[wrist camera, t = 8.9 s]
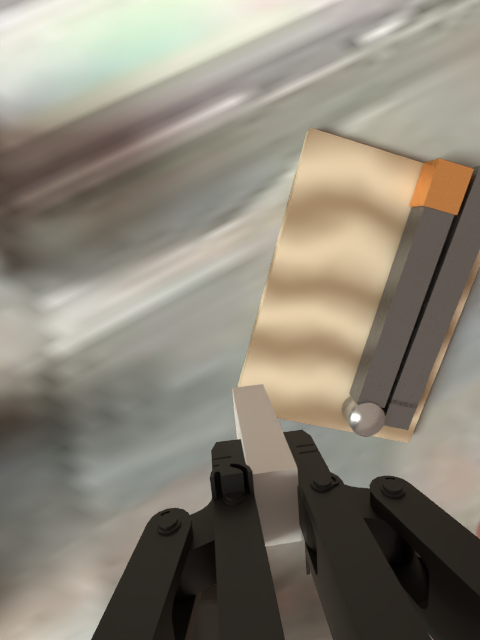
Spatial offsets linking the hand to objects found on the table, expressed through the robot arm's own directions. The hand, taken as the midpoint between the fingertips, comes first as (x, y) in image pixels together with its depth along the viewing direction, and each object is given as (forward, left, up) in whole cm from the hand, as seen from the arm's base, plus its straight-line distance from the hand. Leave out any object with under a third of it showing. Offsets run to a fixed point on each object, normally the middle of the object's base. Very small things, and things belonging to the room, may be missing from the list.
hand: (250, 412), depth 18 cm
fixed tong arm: (+6, -20, -19) cm, 28 cm away
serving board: (+4, -13, -21) cm, 25 cm away
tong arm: (+5, -16, -19) cm, 25 cm away
